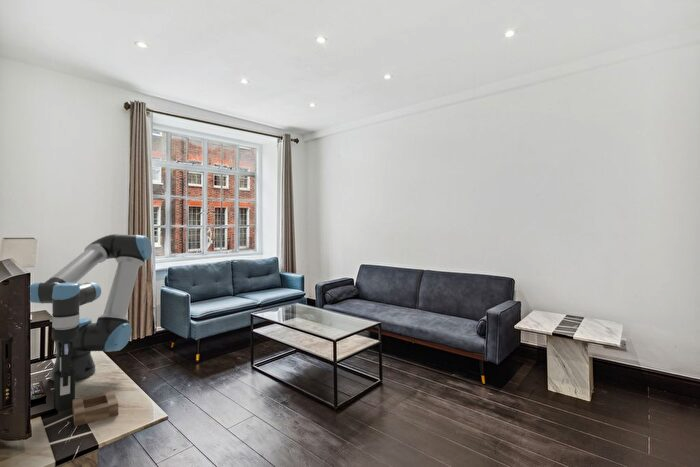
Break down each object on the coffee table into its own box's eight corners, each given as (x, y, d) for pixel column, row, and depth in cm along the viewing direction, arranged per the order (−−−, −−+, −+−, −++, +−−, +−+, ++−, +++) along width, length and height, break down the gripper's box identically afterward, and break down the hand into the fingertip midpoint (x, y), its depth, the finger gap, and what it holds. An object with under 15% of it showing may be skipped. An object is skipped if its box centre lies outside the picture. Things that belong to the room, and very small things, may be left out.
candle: (76, 405, 127) (77, 337, 126) (58, 411, 122) (59, 341, 121) (69, 401, 129) (70, 334, 128) (52, 407, 125) (53, 338, 124)
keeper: (72, 410, 123) (72, 399, 123) (113, 400, 131) (113, 389, 131) (74, 426, 114) (74, 414, 114) (118, 414, 122) (118, 403, 122)
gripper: (51, 321, 129) (50, 383, 130) (52, 335, 115) (51, 404, 116) (77, 318, 134) (76, 378, 135) (81, 331, 120) (79, 398, 121)
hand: (64, 390), depth 126 cm, fingers closed on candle, 6 cm apart
